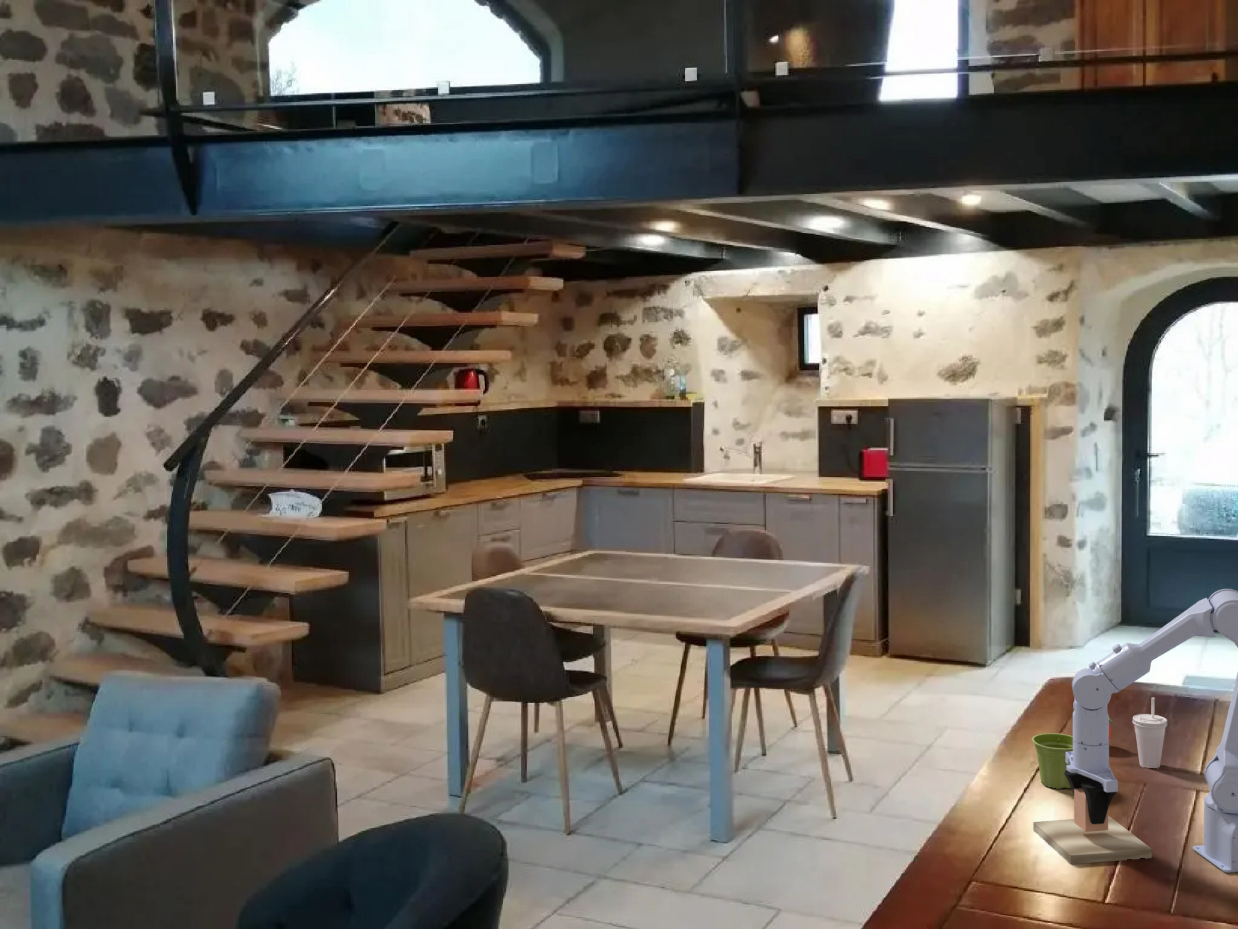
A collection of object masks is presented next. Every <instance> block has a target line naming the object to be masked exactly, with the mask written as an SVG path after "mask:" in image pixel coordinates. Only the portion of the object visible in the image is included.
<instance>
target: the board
mask: <svg viewBox="0 0 1238 929" xmlns="http://www.w3.org/2000/svg"><path fill="white" fill-rule="evenodd" d="M1033 831H1034V832H1035V833H1036V834H1037V835H1038V836H1039V837H1040V838H1042V839H1043V841H1044V842H1045V843H1046V844H1048V845H1049V846H1050V847H1051V848H1052V849H1053V850H1054V851H1056V853H1058V854H1059V855H1060V857H1062V858H1063V859H1064V860H1065V861H1066V862H1068V864H1070V865H1078V864H1091V863H1104V862H1116V861H1128V860H1127V859H1132V860H1141V859H1140V858H1145V859H1152V858H1153V849H1152V848H1151V847H1150V846H1149V845H1148V844H1146V843H1145V842H1143V841H1142V840H1141V839H1139V837H1137V836H1135V834H1133V833H1132V832H1130V831H1129V830H1128V829H1127V828H1125V827H1124V826H1122V825H1121V824H1120V823H1119V822H1117V820H1115V819H1114V818H1113V817H1111V816H1109V815H1108V830H1105V831H1091V832H1085V831H1084V830H1083V829H1081V828H1080V827H1079V826H1078V825H1077V824H1075V823H1074V818H1069V819H1055V820H1043V821H1033Z"/></svg>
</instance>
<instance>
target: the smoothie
mask: <svg viewBox="0 0 1238 929" xmlns="http://www.w3.org/2000/svg"><path fill="white" fill-rule="evenodd" d="M1155 699H1156V698H1155V697H1152V696H1151V702H1150V703H1151V706H1150V708H1151V711H1150V712H1151V714H1149V713H1139V714H1136V715H1133V717H1132V724H1133V725H1134V731H1135V738H1136V744H1137V745H1136V747H1137V753H1138V761H1139V766H1140V767H1142V768H1144V767H1147V768H1146V769H1148V768H1157V769H1159V768H1160V767H1161V762H1162V761H1161V760H1162V753H1163V748H1164V739H1165V734H1166V727H1167V726H1168V719H1167V718H1165V717H1163V716H1162V715H1161V716H1160V715H1157V714H1155ZM1158 767H1159V768H1158Z"/></svg>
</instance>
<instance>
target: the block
mask: <svg viewBox="0 0 1238 929" xmlns="http://www.w3.org/2000/svg"><path fill="white" fill-rule="evenodd" d="M1073 805H1074V806H1073V810H1074V812H1073V813H1074V814H1073V817H1074V818H1073V819H1074V823H1075V824H1077V825H1078V826H1079V827H1080V828H1081V829H1083V830H1084V831H1085V832H1091V831H1105V830H1108V816H1109V810H1108V811H1107V815H1106V818H1105V821H1104V824H1092V823H1091V822H1090V818H1089V811H1088V803H1087V799H1086V795H1085V793H1084V790H1083V788H1080V789H1074V795H1073Z"/></svg>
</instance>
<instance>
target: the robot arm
mask: <svg viewBox="0 0 1238 929" xmlns="http://www.w3.org/2000/svg"><path fill="white" fill-rule="evenodd" d="M1214 631H1217V632H1218V633H1219V634H1220V635H1222V636H1223V637H1224V638H1226V639H1228V640H1230V641H1231V642H1233V643H1234V645H1235V646H1236V648H1238V590H1236V589H1233V588H1223V589H1219V590H1216V591H1215V592H1213V593H1211V595H1210V596H1209V597H1208V598H1207V597H1205V598H1202V599H1200V600H1198V601H1197V602H1196V603H1194V604H1193V605H1191V606H1189V608H1187V609H1186V610H1184V611H1183V612H1181V613H1180V614H1179V615H1178V616H1176V617H1175V618H1173V619H1172V620H1171V621H1170V622H1168V623H1166V624H1165V625H1163V627H1161V628H1159V629H1158V630H1157V631H1155V632H1154V633H1153V634H1151V635H1150V636H1149V637H1147V638H1146V639H1144V640H1143V641H1141V642H1140V643H1131V642H1126V643H1125V644H1123V645H1120V644H1119V643H1117V644H1116V645H1114V646H1112V652H1111V653H1109V654H1107V655H1106V656H1105V657H1103V658H1102V659H1100V660H1098V661H1097V662H1095V661H1091V663H1089V664H1088V668H1087V667H1086V668H1083V669H1081V670H1079V671H1077V672H1076V674H1074V677H1073V679H1072V681H1071V688H1072V693H1073V697H1074V701H1073V706H1072V708H1073V712H1072V736H1073V751H1071V752H1066V763H1067V764H1070V765H1067V766H1066V769H1067V770H1066V771H1065V772H1064V774H1065V776H1066V778H1067V779H1068V781H1069V784H1070V786H1071V788H1070V789H1071V791H1072V794H1073V796H1074V789H1080V788H1083V790H1084V793H1085V795H1086V799H1087V803H1088V811H1089V818H1090V822H1091V823H1092V824H1104V821H1105V818H1106V815H1107V811H1108V812H1109V807H1110V805H1111V803H1112V800H1113V799H1114V797H1115V795H1116V794H1117V793H1118V792H1119V781H1118V779H1117V778H1115V776H1114V773H1113V771H1112V769H1111V766H1110V741H1109V725H1110V720H1109V719H1110V715H1109V713H1108V705H1109V703H1110V700H1111V698H1112V694H1116V693H1119V692H1121V691H1122V690H1123V689H1125V688H1127V687H1128V686H1130V685H1132V684H1133V683H1134V682H1136V681H1137V680H1139V679H1141V678H1143V677H1144V676H1145V675H1147V674H1149V673H1150V670H1151V667H1152V666H1151V665H1152V662H1153V661H1154V660H1156V659H1157V658H1159V657H1161V656H1162V655H1165V654H1166V653H1168V652H1170V651H1172V650H1173V649H1175V648H1176V647H1178V646H1180V645H1181V644H1183V643H1185V642H1186V641H1188V640H1190V639H1192V638H1193V637H1205V638H1216V634H1215V632H1214ZM1231 694H1232V695H1231V699H1230V704H1229V706H1228V711H1227V717H1226V720H1225V724H1224V727H1223V728H1224V729H1223V734H1222V737H1221V742H1220V743H1219V744H1218V746H1217V747H1216V750H1215V754H1214V756H1213V758H1212V759H1211V760H1210V761H1209V762H1208V763H1207V764H1206V766H1205V769H1204V779H1205V781H1206V783H1207V786H1208V787H1209V790H1210V791H1209V792H1208V794H1207V795H1206V796H1205V797H1204V808H1203V812H1204V813H1203V844H1202V845H1201V844H1199V845H1198V844H1197V845H1192V850H1193V851H1194V852H1196V853H1197V854H1198V855H1200V856H1201V857H1203V858H1204V859H1206V860H1207V861H1208V862H1209V863H1211V864H1213V865H1214V866H1215V867H1217V868H1218V869H1219V870H1221V871H1222V872H1224V873H1226V874H1227V873H1238V672H1237V673H1236V678H1235V682H1234V687H1233V691H1232V693H1231Z"/></svg>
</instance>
